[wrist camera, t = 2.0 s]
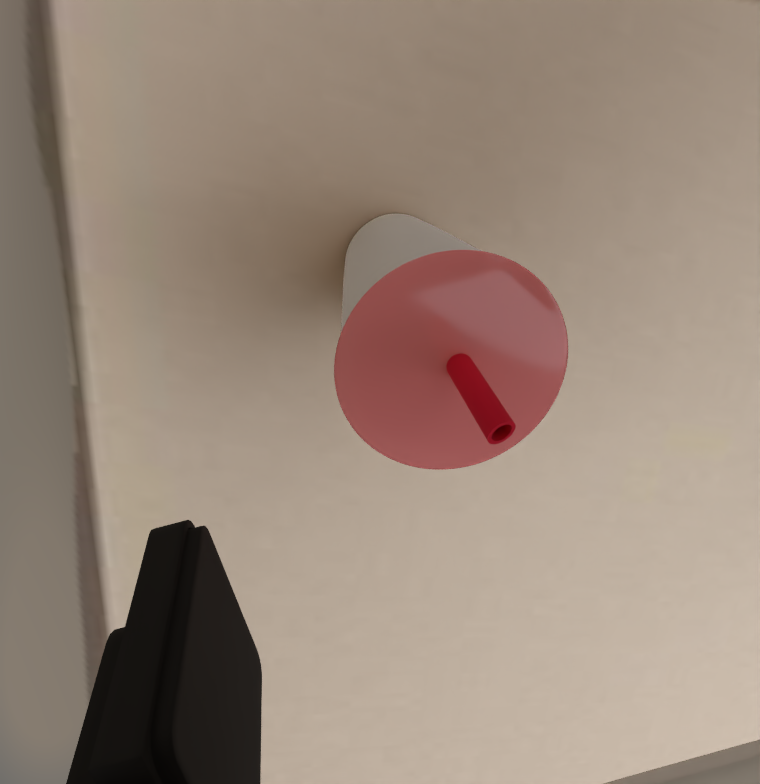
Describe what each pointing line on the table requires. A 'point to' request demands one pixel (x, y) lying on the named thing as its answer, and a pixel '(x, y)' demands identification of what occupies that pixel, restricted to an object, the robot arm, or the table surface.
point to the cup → (443, 346)
